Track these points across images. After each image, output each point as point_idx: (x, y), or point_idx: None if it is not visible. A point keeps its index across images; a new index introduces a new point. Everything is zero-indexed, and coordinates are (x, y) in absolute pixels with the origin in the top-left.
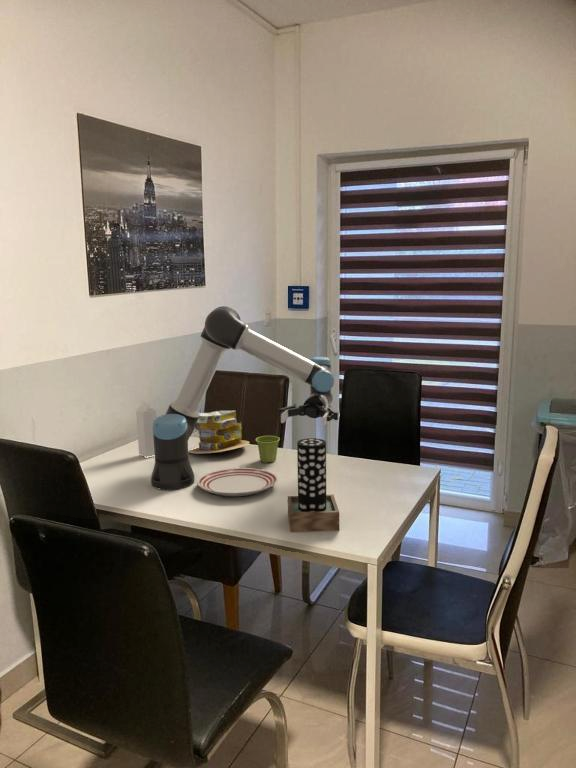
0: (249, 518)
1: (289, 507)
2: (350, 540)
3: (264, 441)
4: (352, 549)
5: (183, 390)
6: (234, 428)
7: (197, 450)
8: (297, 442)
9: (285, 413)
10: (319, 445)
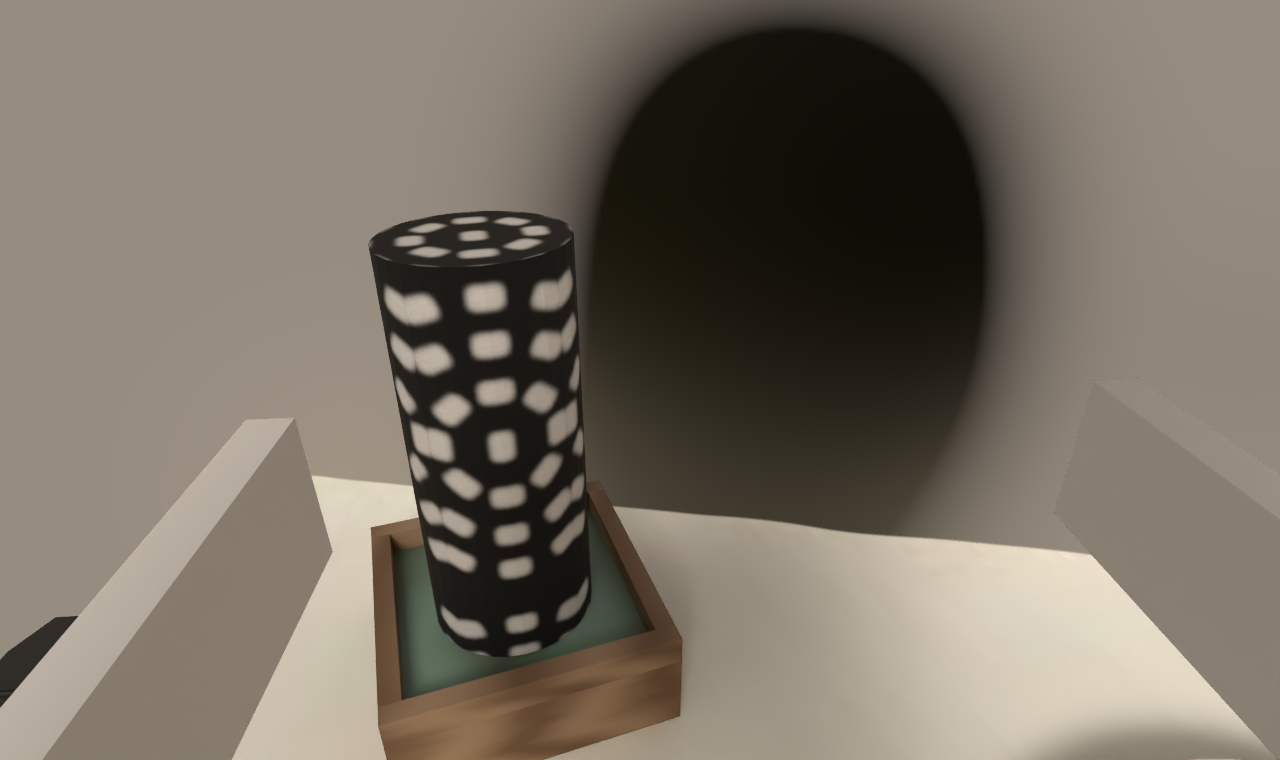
0: (842, 619)
1: (620, 524)
2: (350, 537)
3: None
4: (354, 491)
5: None
6: None
7: None
8: (569, 226)
9: (1232, 504)
10: (419, 219)
